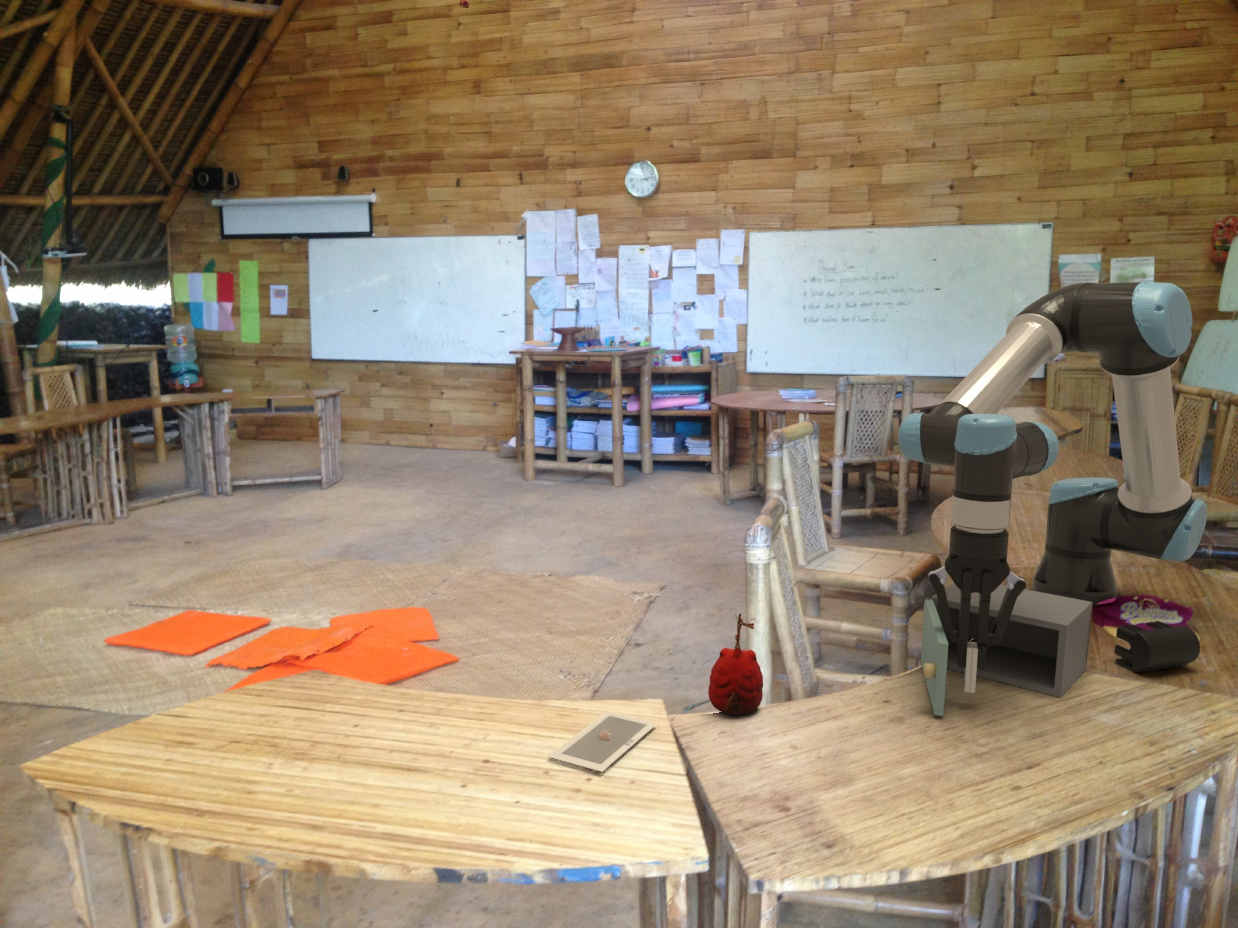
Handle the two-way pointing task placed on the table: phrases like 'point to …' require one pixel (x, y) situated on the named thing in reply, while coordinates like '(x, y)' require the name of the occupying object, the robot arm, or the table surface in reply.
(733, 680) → the red clay folk toy
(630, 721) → the touchpad
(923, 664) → the pale green rectangular block
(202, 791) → the table surface
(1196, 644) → the end cap
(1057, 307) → the robot arm
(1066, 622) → the cabinet
